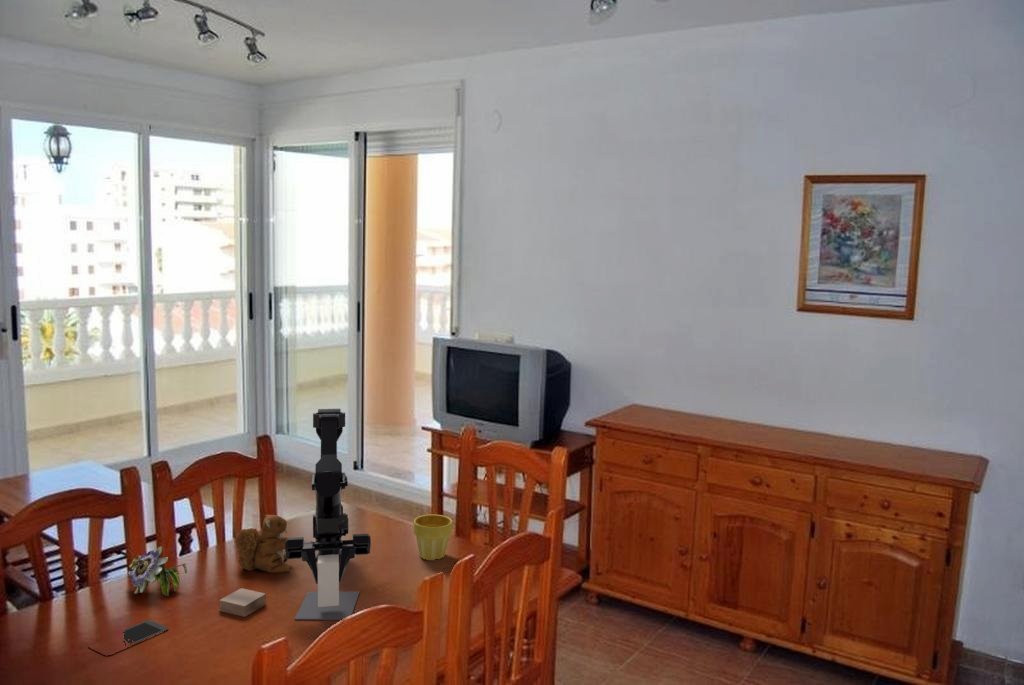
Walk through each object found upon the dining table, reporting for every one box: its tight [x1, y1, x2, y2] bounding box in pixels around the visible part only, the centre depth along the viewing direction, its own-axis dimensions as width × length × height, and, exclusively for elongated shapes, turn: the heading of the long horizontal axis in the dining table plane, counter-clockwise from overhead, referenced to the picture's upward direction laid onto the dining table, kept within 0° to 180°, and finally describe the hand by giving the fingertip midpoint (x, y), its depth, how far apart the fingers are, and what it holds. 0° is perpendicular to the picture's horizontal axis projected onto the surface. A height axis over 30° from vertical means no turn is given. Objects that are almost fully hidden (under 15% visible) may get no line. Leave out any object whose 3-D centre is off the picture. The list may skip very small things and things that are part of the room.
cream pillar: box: [317, 554, 340, 607], centre depth 176 cm, size 4×4×10 cm
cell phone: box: [103, 619, 168, 652], centre depth 163 cm, size 7×14×1 cm, turn 148°
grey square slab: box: [219, 587, 267, 618], centre depth 178 cm, size 7×7×2 cm
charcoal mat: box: [294, 590, 360, 621], centre depth 180 cm, size 14×12×1 cm
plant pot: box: [412, 514, 453, 561], centre depth 210 cm, size 10×10×10 cm
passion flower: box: [127, 545, 188, 597], centre depth 187 cm, size 11×11×12 cm
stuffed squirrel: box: [235, 513, 291, 574], centre depth 201 cm, size 10×14×13 cm
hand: (328, 582), depth 174 cm, fingers closed on cream pillar, 4 cm apart
